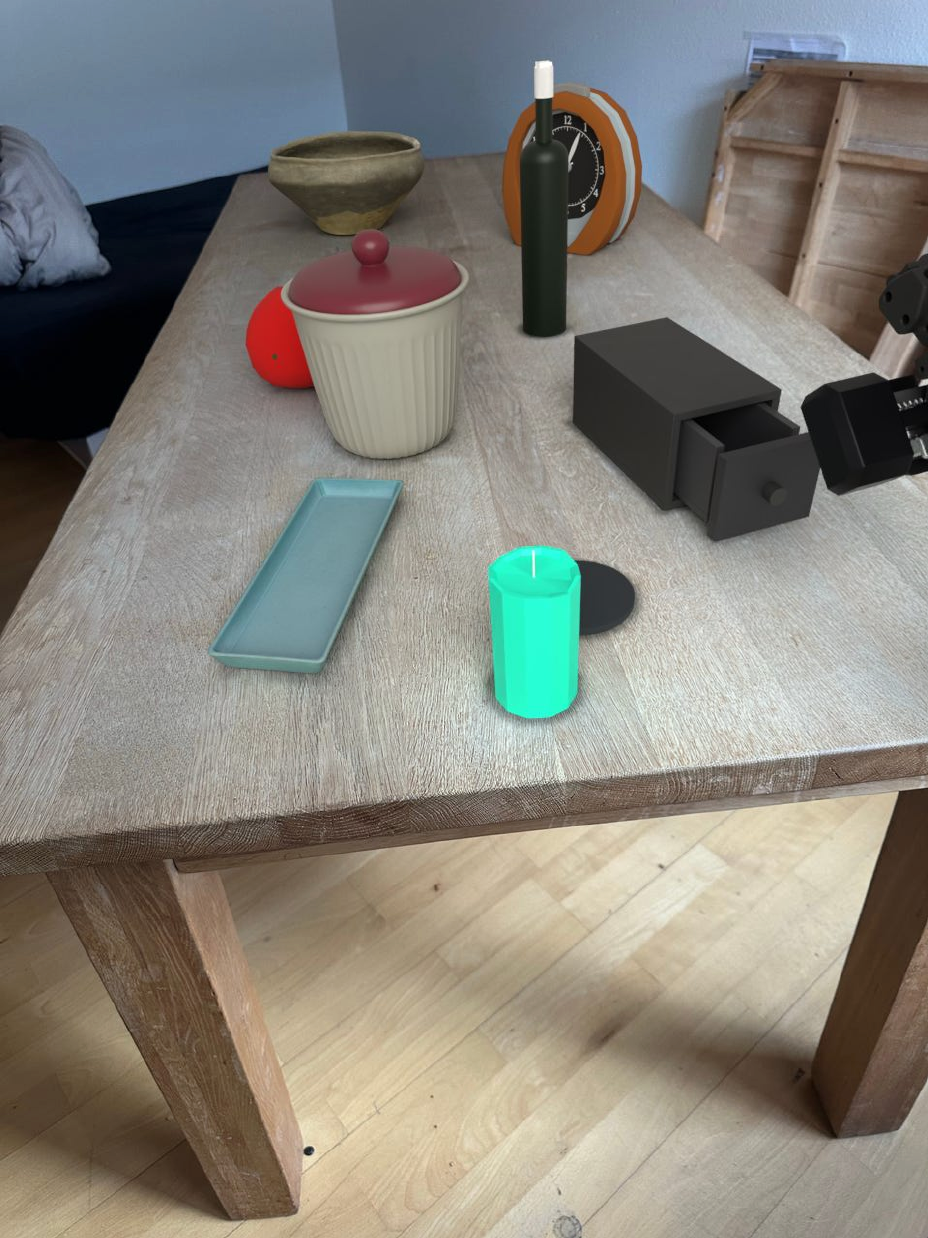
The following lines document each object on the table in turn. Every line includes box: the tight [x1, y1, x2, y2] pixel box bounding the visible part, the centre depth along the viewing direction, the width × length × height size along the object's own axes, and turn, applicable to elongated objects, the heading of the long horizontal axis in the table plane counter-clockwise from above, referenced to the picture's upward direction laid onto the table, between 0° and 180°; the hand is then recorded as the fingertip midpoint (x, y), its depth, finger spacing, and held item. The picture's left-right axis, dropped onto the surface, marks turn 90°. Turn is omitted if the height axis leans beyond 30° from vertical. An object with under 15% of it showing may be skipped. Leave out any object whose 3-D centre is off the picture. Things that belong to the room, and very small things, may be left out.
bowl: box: [267, 130, 425, 236], centre depth 153 cm, size 28×28×14 cm
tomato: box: [245, 285, 315, 389], centre depth 101 cm, size 13×13×13 cm
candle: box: [487, 544, 581, 719], centre depth 57 cm, size 6×6×12 cm
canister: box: [281, 229, 470, 460], centre depth 85 cm, size 18×18×21 cm
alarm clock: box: [501, 81, 643, 256], centre depth 135 cm, size 22×10×23 cm, turn 53°
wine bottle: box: [520, 59, 569, 338], centre depth 103 cm, size 6×6×30 cm
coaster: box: [573, 559, 636, 636], centre depth 68 cm, size 9×9×1 cm
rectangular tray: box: [207, 477, 405, 674], centre depth 72 cm, size 26×9×2 cm, turn 170°
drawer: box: [673, 402, 821, 543], centre depth 76 cm, size 20×9×8 cm, turn 19°
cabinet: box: [572, 316, 783, 512], centre depth 82 cm, size 20×11×10 cm, turn 19°
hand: (865, 453), depth 58 cm, fingers closed
